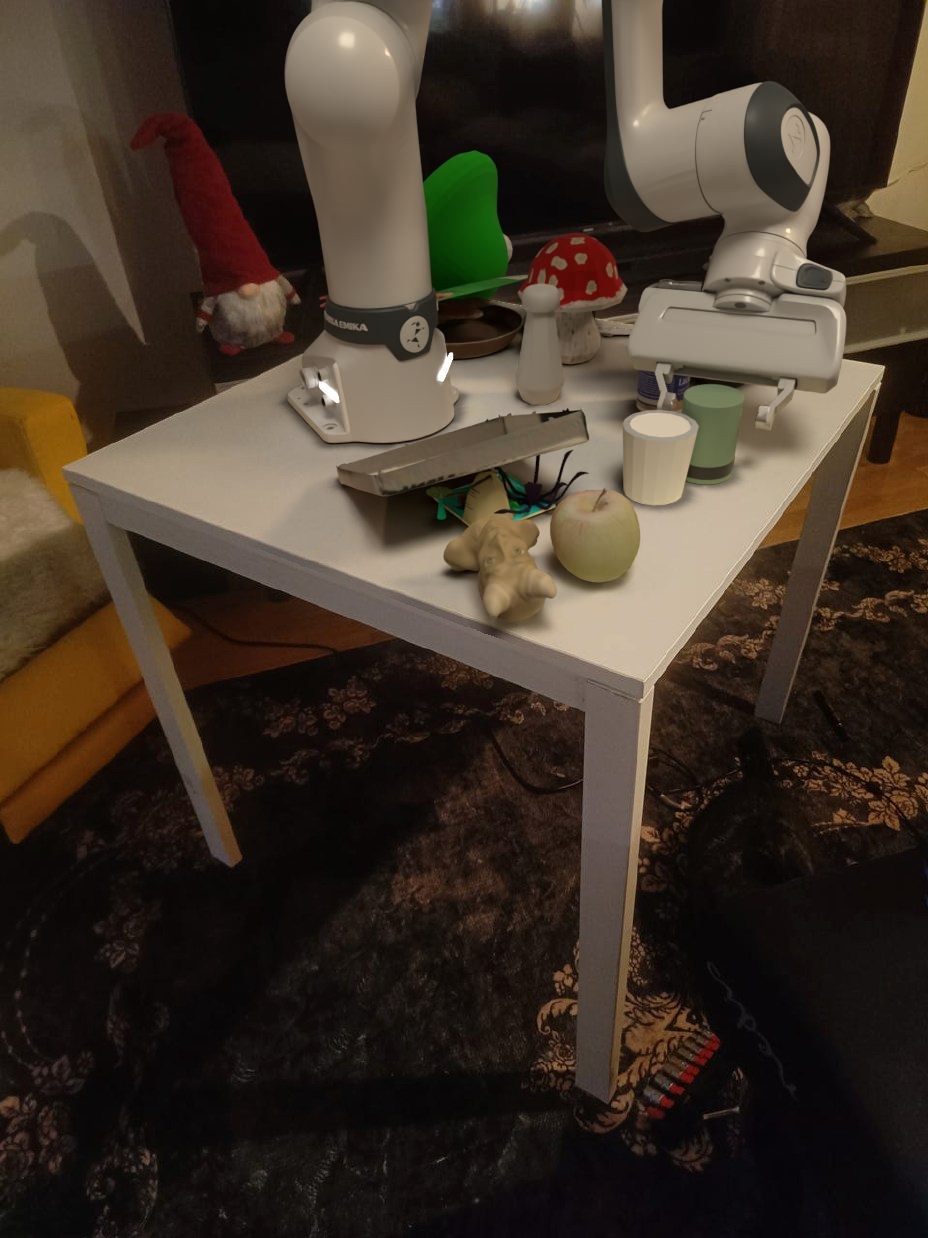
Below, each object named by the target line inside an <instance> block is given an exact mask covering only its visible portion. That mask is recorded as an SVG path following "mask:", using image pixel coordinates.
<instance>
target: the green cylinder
mask: <svg viewBox="0 0 928 1238" xmlns="http://www.w3.org/2000/svg"><path fill="white" fill-rule="evenodd" d="M745 399H746V397H745V394H744V393H743V392H742V391H741V390H739V389H738V388H736V387H735V388H732V387H729V386H724V385H717V384H705V385H697V384H696V385H694V386H691V387H689V388H688V389H687V390H686V391H685V392H684V396H683V403H682V411H681V414H685V415H687V416H689V417H691V418H692V419H694V420H695V421H696V423H697V424H698V426H699V427H698V431H697V435H696V439H695V443H694V448H693V452H692V456H691V460H690V464H689V468H688V472H687V476H686V480H685V482H688V483H691V484H696V485H716V484H722V483H723V482H726V481H727V480H729V479H730V478H731V476H732V473H733V470H734V466H735V459H736V451H737V445H738V440H739V439H738V438H739V433H740V427H741V422H742V416H743V412H744V406H745Z"/></svg>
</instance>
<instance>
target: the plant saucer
mask: <svg viewBox="0 0 928 1238" xmlns="http://www.w3.org/2000/svg"><path fill="white" fill-rule="evenodd" d="M477 309H478V310H480V311H482V312H483V315H482V316H481V317H480V318H476V319H468V318H467V319H452V320H448V321H446V322H445V323H438V325H437V326H436V328H437V329H438V330H440V331H441V332H442V333H443V335H444V339H445V345H446V352H447V358H448V356H449V354H450V353H452V354H453V359H455V360H456V359H472V358H479V357H483V356H487V355H490V354H493V353H496V352H498V351H500V350H502V349H504V348H506V347H507V346H508V345H509V344H510V343H511V342H512V341H513V340H514V338H515V337H516V336H517V334H518V333H519V332H520V330H521V328H522V327H523V321H524V320H523V318H524V317H523V315H522V314H521V313H520V312H518V311H517V310H515V309H514V308H510V307H508V306H504V305H500V304H494V303H493V304H492V305H491V306H488V307H483V308H477ZM453 359H452V360H453Z"/></svg>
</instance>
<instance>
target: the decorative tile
mask: <svg viewBox="0 0 928 1238" xmlns="http://www.w3.org/2000/svg"><path fill="white" fill-rule="evenodd" d="M587 425H588V424H587V418H586V414H585V412H584V411H583V410H582V407H580V409H575V410H570V409H569V407H567V408H566V409H563V410H562V411H552V412H539V413H537V411H536V410H534V411H532V412H531V413H527V414H526V413H525V414H515V415H512V413H511V412H510V413H507V415H504V416H503V415H500V414H498V417H495V418H492V419H489V418H486V420H485V421H481V422H478V423H476V424H472V425H469V426H465V427H462V428H459V429H456V430H453V431H449V432H446V433H443V434H440V435H436V436H433V437H430V438H425V439H423V440H420V441H416V442H414V443H413V442H412V443H404V445H403V446H400V447H397V448H394V449H391V450H387V451H384V452H381V453H378V454H375V455H371V456H368V457H364V458H361V459H358V460H354V461H352V462H351V461H350V462H349V463H341V464H340V465H335V467H336V471H337V475H338V480H339V483H340V484H341V485H345V486H348V487H351V488H354V489H356V490H359V491H362V492H367V493H370V494H372V495H376V496H380V497H391V496H394V495H399V494H403V493H406V492H409V491H412V490H415V489H416V490H417V489H419V488H423V487H427V486H430V485H434V484H438V483H441V482H445V481H448V480H453V479H457V478H460V477H464V476H467V475H471V474H475V473H480V472H481V471H482V470H486V469H492V468H493V469H494V467H497V466H499V467H502V466H504V465H508V464H511V463H515V462H518V461H523V460H526V459H530V458H533V457H536V456H537V455H540V456H541V455H544V454H548V453H551V452H555V451H559V450H562V449H566V448H569V447H570V448H571V447H574V446H577V445H582V444H585V443H587V442H589V441H590V434H589V431H588V426H587Z"/></svg>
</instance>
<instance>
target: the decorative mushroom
mask: <svg viewBox="0 0 928 1238" xmlns="http://www.w3.org/2000/svg"><path fill="white" fill-rule="evenodd" d="M535 255H536V256H535V257H534V258H533V260H532V261H531V263H530V267H529V270H528V273H527V275H528V277H527V280H524V282H523V284H522V285H521V287H520V288H519V289H518V291H517V295H518V297H519V299H520V300H521V301H522V294H523V291H524V289H525V288H527V287H528V286H531V285H535V284H548V285H553V286H555V287H556V288H557V289H558V290H559V294H560V304H559V307H558V308H557V309H556V310H554V314H555V320H556V327H557V334H558V341H559V347H560V354H561V361H562V364H566V365H567V364H568V365H573V364H583V363H585V362H588V361H591V360H593V358H594V356H595V355H596V354H597V352H598V350H600V347H601V344H602V337H601V336H602V335H600V332H599V329H598V327H599V326H598V324H597V323H596V319H595V320H594V317H593V314H592V311H595V310H596V311H602V310H605V309H609V308H611V307H613V306H616V305H618V304H621V303H622V301H623V299H624V297H625V295H626V294H627V291H628V288H627V286H626V284H625V283H624V282H623V280H622V278H621V277H620V275H619V270H618V266H617V262H616V258H615V257H614V255H613V254H612V253H611V251H610V249H609V248H608V247H606V246H605V245H604V244H603V243H602V242H601V241H599V240H598V239H596V238H595V237H594V236H593V237H592V236H590V235H587V234H584V233H565V234H562V235H561V236H558V237H555V238H553V239H551V240H549V242H548V243H546V244H545V245H544V246H543V247H542V248H541V249H540V250H539V251H538V252H537V254H535Z"/></svg>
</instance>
